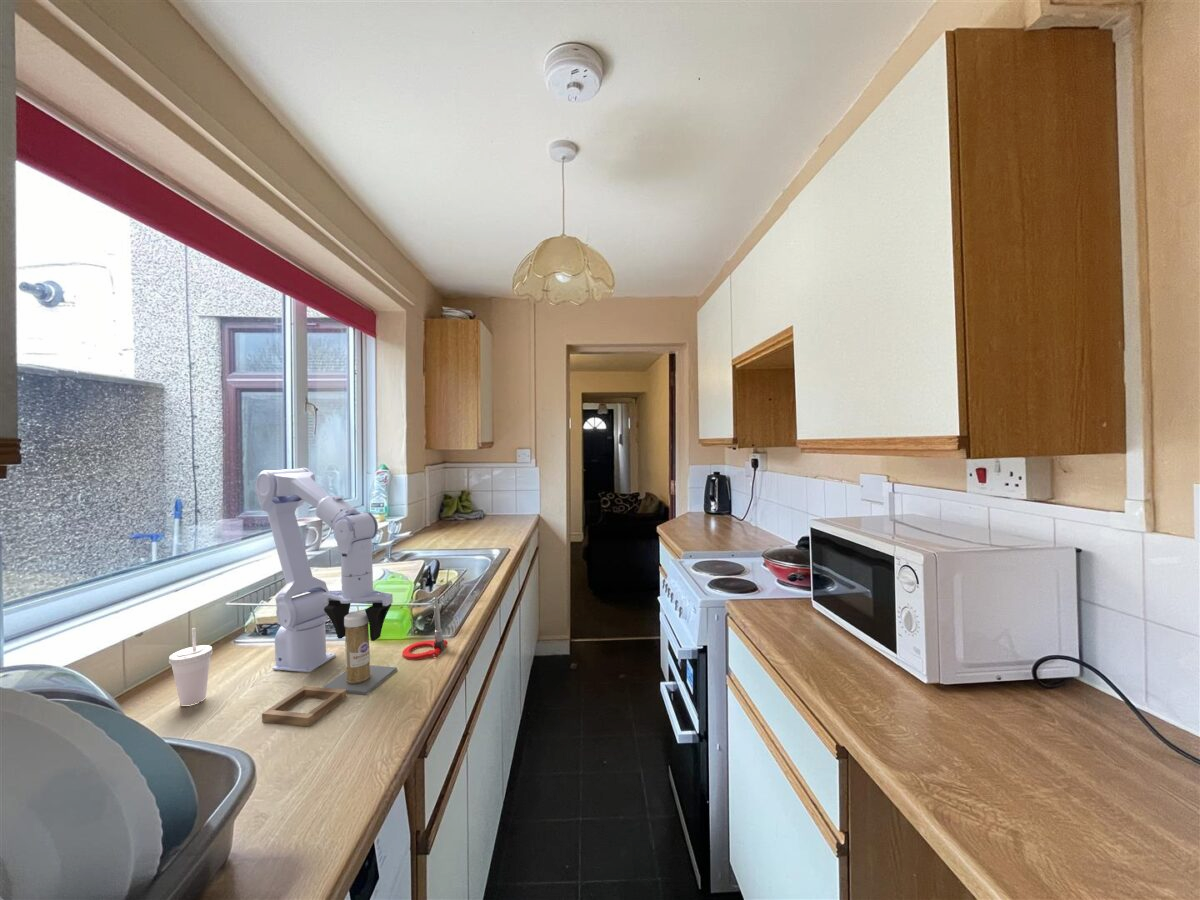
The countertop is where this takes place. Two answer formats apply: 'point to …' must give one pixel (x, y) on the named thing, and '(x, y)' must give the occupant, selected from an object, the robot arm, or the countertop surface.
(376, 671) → the coaster
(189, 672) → the smoothie
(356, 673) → the sprinkles bottle
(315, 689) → the collar
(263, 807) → the countertop surface
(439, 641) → the tow hook
